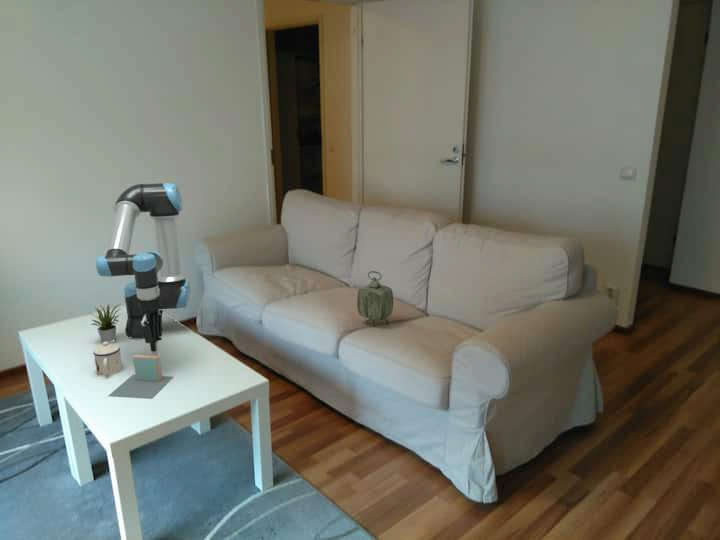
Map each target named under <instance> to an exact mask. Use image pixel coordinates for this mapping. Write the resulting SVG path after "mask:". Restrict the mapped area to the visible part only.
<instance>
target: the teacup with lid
mask: <svg viewBox="0 0 720 540" xmlns="http://www.w3.org/2000/svg"><path fill="white" fill-rule="evenodd" d="M92 352H93V353H92V355H94V361H95V368H96V373H97V374H98V376H103V377H104V376H105V377H106V376H111V375H116V374H118V373H119V372H121V371H122V370H123V364H122V358H121V356H122V355H121V347H120V345H119V344H115V343H109V342H103V343H102V344H101V345H98V346H97V347H95V348H94V350H93V351H92Z"/></svg>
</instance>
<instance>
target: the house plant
mask: <svg viewBox="0 0 720 540" xmlns="http://www.w3.org/2000/svg"><path fill="white" fill-rule="evenodd" d="M120 305H122V303H120V304H117V305H115V306H114V307H113V308H112V310H111V309H110V304H109V303H108V304H107V306H106V310H105V308H104V307H103V306H102V305H101V304H99V306H100V308H101V309H102V310H100V309H99V308H98V307H96V306H95V307H94V309H95V311H96V312H97V314H98V315H95V314H93V313H91V312H88V314H91V315H92V316H94V317H95V318H96V319H98V320H95V319H91V321H93V322H94V323H93V322H92V323H91V324H90V326H91V325H93V326H97V327H98V328H97V332H98V335H99V337H100V340H101V343H102V342H111V341H113V340H115V339H117V338H116V333H117V326H116V325H117V323H119V319H117V318H119V316H120V315H122V314H121V313H120V314H118V315H116V314H117V312H119V311H120V308H119V309H117V310H116V308H118V307H119V306H120ZM110 310H111V311H110ZM102 311H103V313H102ZM115 341H116V340H115Z"/></svg>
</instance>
